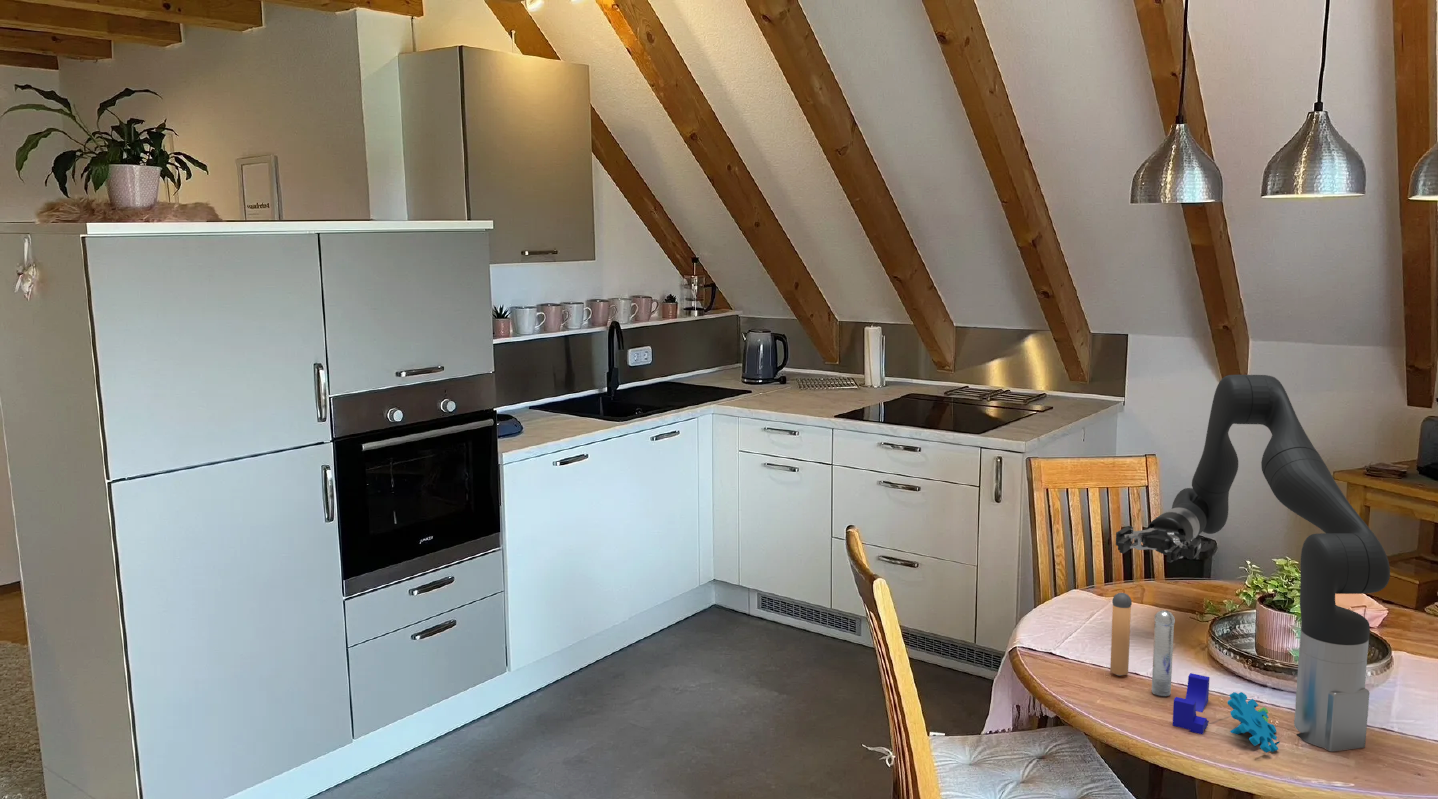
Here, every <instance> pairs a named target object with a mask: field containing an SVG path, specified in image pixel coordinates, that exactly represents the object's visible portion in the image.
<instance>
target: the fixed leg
mask: <svg viewBox="0 0 1438 799" xmlns="http://www.w3.org/2000/svg"><path fill="white" fill-rule="evenodd" d="M1153 619H1154V620H1153V621H1154V631H1153V632H1154V634H1153V635H1154V636H1153V649H1152V650H1153V651H1152V652H1153V654H1152V672H1151V673H1152V674H1151V693H1152V694H1154V695H1155V696H1159V697H1167V696H1170V695H1171V692H1172V674H1173V653H1174V652H1173V651H1174V650H1173V649H1174V633H1175V631H1174V629H1175V623H1176V620H1175V616H1174V614H1173V613H1172V612H1170V611H1168V610H1164V609H1163V610H1159V611H1157V612H1156V614H1155V615H1154V618H1153Z"/></svg>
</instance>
